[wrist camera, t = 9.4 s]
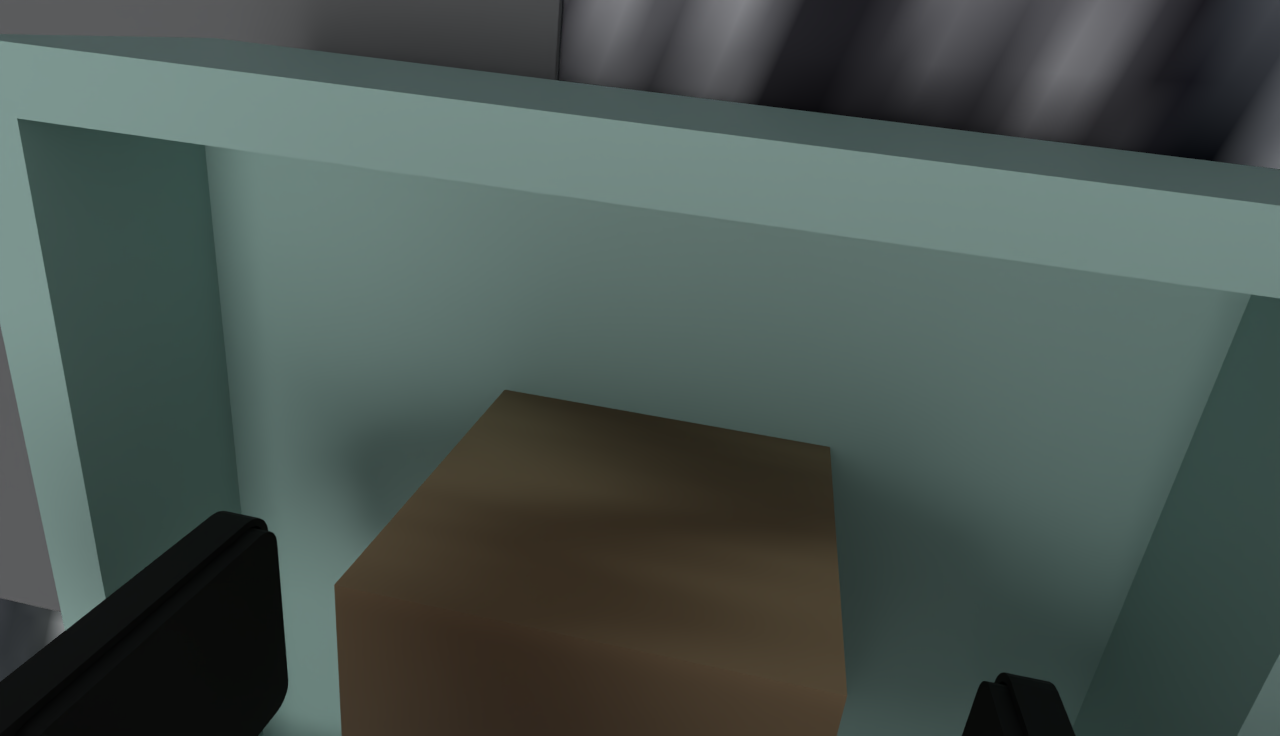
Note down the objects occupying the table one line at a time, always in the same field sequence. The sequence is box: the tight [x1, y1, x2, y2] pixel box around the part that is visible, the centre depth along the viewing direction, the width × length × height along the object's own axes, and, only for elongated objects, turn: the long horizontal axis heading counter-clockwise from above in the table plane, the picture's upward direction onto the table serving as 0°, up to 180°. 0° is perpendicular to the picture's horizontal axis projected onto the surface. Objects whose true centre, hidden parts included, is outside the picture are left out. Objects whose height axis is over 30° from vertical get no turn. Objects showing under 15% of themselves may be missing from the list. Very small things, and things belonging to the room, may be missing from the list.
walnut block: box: [334, 390, 847, 736], centre depth 11 cm, size 5×5×5 cm
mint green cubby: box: [0, 34, 1280, 736], centre depth 12 cm, size 17×14×10 cm
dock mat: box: [0, 0, 563, 612], centre depth 18 cm, size 18×16×1 cm
